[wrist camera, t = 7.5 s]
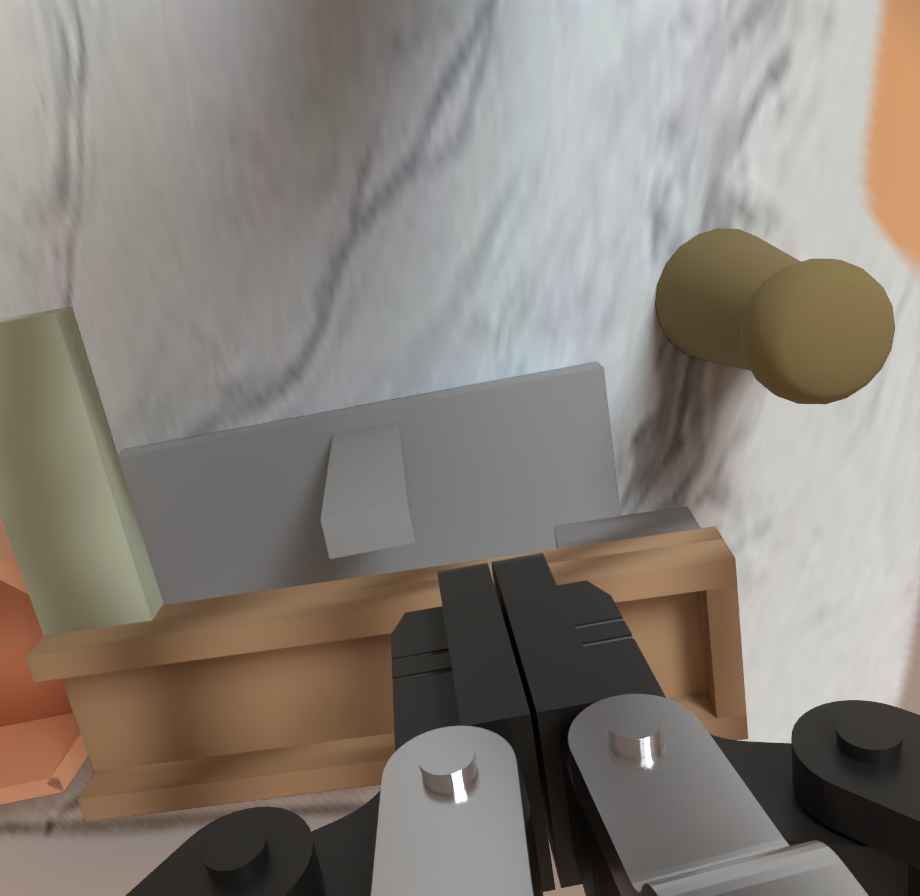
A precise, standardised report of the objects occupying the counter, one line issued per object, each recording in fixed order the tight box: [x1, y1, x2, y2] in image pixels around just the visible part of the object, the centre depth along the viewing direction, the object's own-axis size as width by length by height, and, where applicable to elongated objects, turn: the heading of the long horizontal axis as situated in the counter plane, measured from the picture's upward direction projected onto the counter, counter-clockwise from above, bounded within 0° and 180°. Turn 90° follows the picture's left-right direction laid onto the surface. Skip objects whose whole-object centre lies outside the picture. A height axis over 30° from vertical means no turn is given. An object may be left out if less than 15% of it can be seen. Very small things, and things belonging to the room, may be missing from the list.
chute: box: [0, 307, 748, 822], centre depth 31 cm, size 24×18×4 cm
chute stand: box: [118, 362, 621, 605], centre depth 37 cm, size 22×14×11 cm, turn 99°
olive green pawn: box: [655, 229, 895, 404], centre depth 35 cm, size 6×6×11 cm
